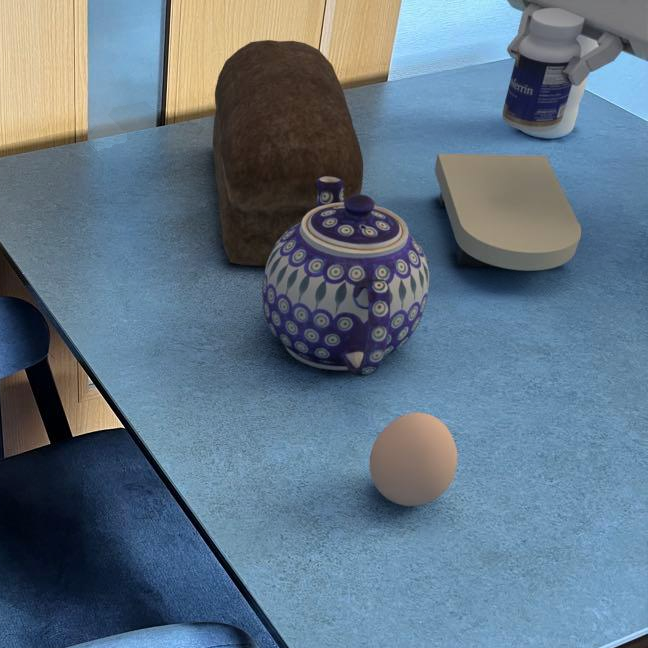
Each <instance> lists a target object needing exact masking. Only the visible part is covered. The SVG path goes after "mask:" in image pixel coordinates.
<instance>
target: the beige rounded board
mask: <svg viewBox="0 0 648 648" xmlns="http://www.w3.org/2000/svg"><path fill="white" fill-rule="evenodd" d="M434 174H435V177H436V180H437V184H438V186H439V189H440V192H439V197H438V200H439V204H440V207H441V208H445V210H446V212H447V216H448V219H449V222H450V226H451V228H452V232H453V235H454V238H455V241H456V243H457V245H458V246H457V251H456V255H455V256H456V260H457V263H458V266H466V267H467V266H470V267H471V266H473V267H497V268H502V269H506V270H507V269H508V270H515V271H528V272H530V271H532V272H533V271H534V272H535V271H543V270H545V271H546V270H550V269H556V268H557V267H561V266H563V265H565V264H567V263H568V262H569V261H570V260H571V259H572V258H573V257H574V256H575V254H576V251H577V248H578V245H579V243H580V239H581V236H582V226H581V224H580V222H579V220H578V218H577V216H576V214H575V212H574V209H573V207H572V206H571V204H570V202H569V199H568V197H567V195H566V193H565V191H564V189H563V187H562V186H561V185H562V184H561V182H560V181H559V180H558V177H557V175H556V173H555V171H554V169H553V167H552V165H551V163H550V161H549V159H548V156H547V155H539V154H538V155H536V154H535V155H533V154H484V153H483V154H482V153H481V154H480V153H479V154H476V153H437V154H436V160H435V164H434Z"/></svg>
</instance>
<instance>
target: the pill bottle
mask: <svg viewBox="0 0 648 648" xmlns="http://www.w3.org/2000/svg"><path fill="white" fill-rule="evenodd" d="M583 24H584V18H583V17H580V16H578V15H576V14H573V13H571V12H568V11H566V10H563V9H561V8H545V9H540V10H538V11H536V12H534V13H533V15H532V18H531V21H530V25H529V29H530V31H531V33H530V35H528V36H527V37H525V38H524V39H523V40H522V41H521V43H520V45H519V48H518V52H517V56H516V59H514V64H513V67H512V68H513V69H512V72H511V76H510V80H509V84H508V89H507V92H506V95H505V96H506V97H505V100H504V103H503V104H504V105H503V108H502V113H501V117H502V120H503V122H505V123H506V124H507V125H508V126H510V127H512V128H514V129H516V130H520V131H521V130H524V131H530V132H544V131H549V130H552V129H554V128H556V127H557V126H558V125H559V124H560V123H561V120H562V118H563V114H564V111H565V108H566V104H567V100H568V97H569V94H570V90H571V87H572V84H571V83H569V82H567V81H565V80H564V78H563V77H562V75H561V72H562V70H563V68H564V67H565V66H566V65H568V62H569V61H570V60H571V58H572V57H573V56H575V57H578V58H580V55H581V46H580V44H579V42H578V41H577V40H576V38H577V36H578V35H580V34H581V32H582V28H583Z"/></svg>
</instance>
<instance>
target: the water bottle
mask: <svg viewBox="0 0 648 648" xmlns="http://www.w3.org/2000/svg"><path fill="white" fill-rule="evenodd" d="M576 40H577V41H578V42H579V44H580V46H581V55H580V59H581V57H583V56H584V55H586V54H587V53H589V52H591V51H592V50H594V49H595V48H597V47H598V46H599V45H598V43H597V41H595V40H593V39H590V38H588V37H585V36H583V35H578V36H577V38H576ZM588 76H589V75H588ZM588 76H587V77H586V78H585V79H584V81H583V82H582V83H581V84H580V85H579V86H575V85H572V87H571V90H570V94H569V97H568V100H567V104H566V108H565V111H564V114H563V118H562V120H561V123H560V124H559V125H558V126H557V127H556V128H554V129H552V130H549V131H544V132H530V131H524V130H520V131H521V132H522V133H524V134H525V135H527V136H530V137H535V138H540V139H558V138H562V137H566V136H567V135H569V134H570V133H572V131H573V130H574V128H575V124H576V122H577V118H578V113H579V109H580V103H581V101H582V98H583V97H584V93H585V91H586V87H587V85H588Z"/></svg>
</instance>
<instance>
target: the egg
mask: <svg viewBox="0 0 648 648" xmlns="http://www.w3.org/2000/svg"><path fill="white" fill-rule="evenodd" d="M371 447H372V448H371V451H370V454H369V465H368V466H369V474H370V477H371V480H372V482H373V485H374V486H375V488H376V489H377V490H378V492H379V493H380V494H381V495H382V496H383V497H385V499H387V500H388V501H390V502H392V503H394V504H397V505H400V506H403V507H418V506H423V505H426V504H429V503H431V502H433V501H435V500H437V499H438V498H439V497H440V496H442V495H443V494H444V493H445V492H446V491H447V490H448V489H449V488H450V486H451V485H452V482H453V480H454V479H455V476H456V472H457V468H458V466H457V465H458V448H457V445H456V441H455V439H454V436H453V435H452V433H451V431H450V430H449V428H448V426H447V425H446V424H445V423H444V422H443V421H442V420H440V419H439V418H437V417H436V416H434V415H432V414H429V413H424V412H410V413H405V414H404V415H401V416H399V417H397V418H396V419H394V420H393V421H391V422H390V423H388V424H387V425H386V426H385V427H384V429H382V431H380V433H379V434H378V435H377V437H376V439H375V441H374V442H373V445H372V446H371Z"/></svg>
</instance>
